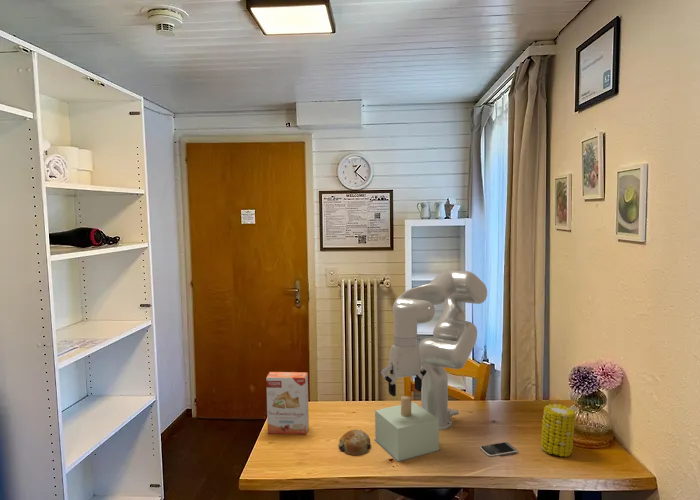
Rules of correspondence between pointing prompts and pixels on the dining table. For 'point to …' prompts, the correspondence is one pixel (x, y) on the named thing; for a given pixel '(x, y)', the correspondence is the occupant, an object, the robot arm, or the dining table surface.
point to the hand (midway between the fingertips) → (405, 392)
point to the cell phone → (499, 449)
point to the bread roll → (355, 442)
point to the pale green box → (406, 430)
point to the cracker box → (287, 402)
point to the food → (558, 430)
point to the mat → (404, 459)
